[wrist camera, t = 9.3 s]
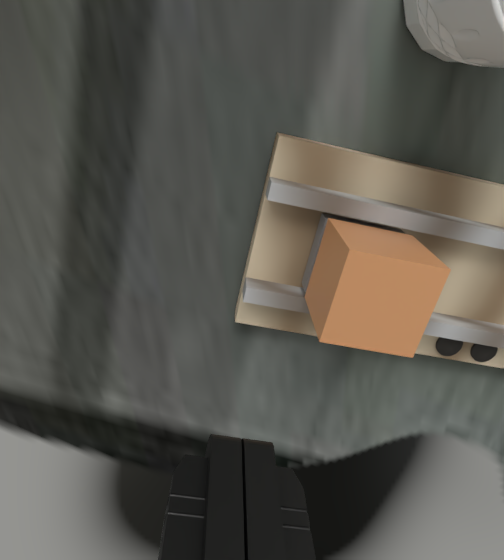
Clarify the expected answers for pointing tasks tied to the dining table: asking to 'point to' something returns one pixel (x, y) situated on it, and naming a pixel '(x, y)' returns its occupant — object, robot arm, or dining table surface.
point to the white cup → (459, 30)
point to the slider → (371, 286)
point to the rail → (387, 212)
